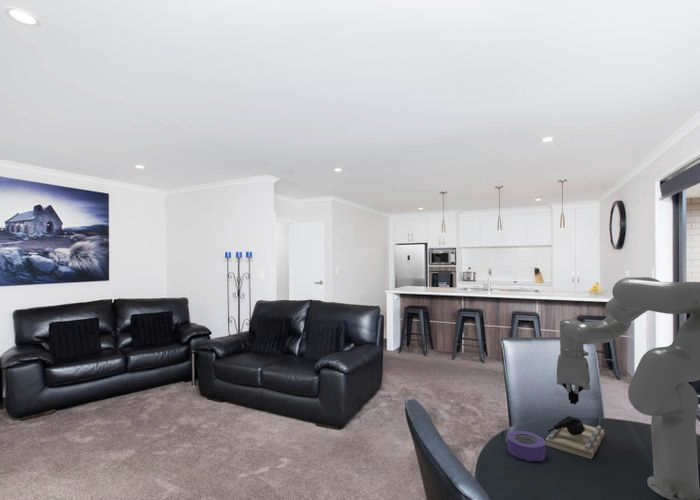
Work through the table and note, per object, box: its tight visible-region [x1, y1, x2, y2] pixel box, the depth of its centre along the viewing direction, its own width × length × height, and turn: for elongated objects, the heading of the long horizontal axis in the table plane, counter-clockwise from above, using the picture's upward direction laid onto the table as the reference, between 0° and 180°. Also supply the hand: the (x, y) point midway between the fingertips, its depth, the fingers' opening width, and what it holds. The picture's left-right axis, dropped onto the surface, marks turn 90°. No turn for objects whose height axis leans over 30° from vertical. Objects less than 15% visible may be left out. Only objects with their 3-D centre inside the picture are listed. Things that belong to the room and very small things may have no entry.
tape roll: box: [507, 430, 547, 462], centre depth 124 cm, size 12×12×5 cm
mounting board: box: [544, 424, 606, 460], centre depth 133 cm, size 24×14×3 cm, turn 136°
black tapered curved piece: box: [547, 415, 585, 439], centre depth 131 cm, size 6×8×12 cm
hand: (573, 402), depth 134 cm, fingers closed
